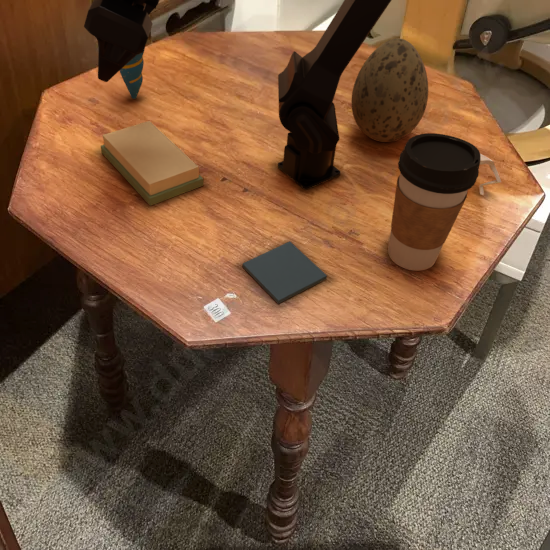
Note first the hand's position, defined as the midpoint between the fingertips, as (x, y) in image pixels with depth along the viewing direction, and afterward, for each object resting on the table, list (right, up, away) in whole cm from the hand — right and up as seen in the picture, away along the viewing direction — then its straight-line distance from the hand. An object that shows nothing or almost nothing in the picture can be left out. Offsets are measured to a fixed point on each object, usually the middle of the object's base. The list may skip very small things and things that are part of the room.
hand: (110, 61), depth 73 cm
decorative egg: (+36, -5, +19) cm, 41 cm away
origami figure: (+44, -13, +11) cm, 48 cm away
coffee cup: (+36, -23, +1) cm, 43 cm away
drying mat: (+21, -25, -3) cm, 33 cm away
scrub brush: (+3, -11, +10) cm, 15 cm away
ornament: (-2, +2, +23) cm, 23 cm away
